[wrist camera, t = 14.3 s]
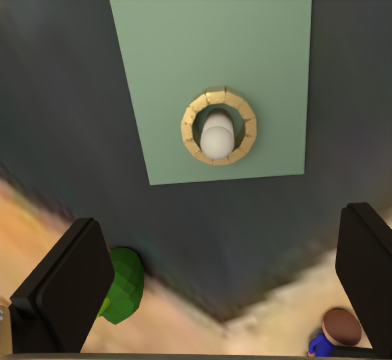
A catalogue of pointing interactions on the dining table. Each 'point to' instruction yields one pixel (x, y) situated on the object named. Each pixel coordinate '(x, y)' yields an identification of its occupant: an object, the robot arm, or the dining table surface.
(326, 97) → the dining table surface
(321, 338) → the figurine character
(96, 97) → the dining table surface
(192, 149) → the brass ring
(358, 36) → the dining table surface
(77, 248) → the robot arm
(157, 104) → the post board
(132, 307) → the bell pepper
